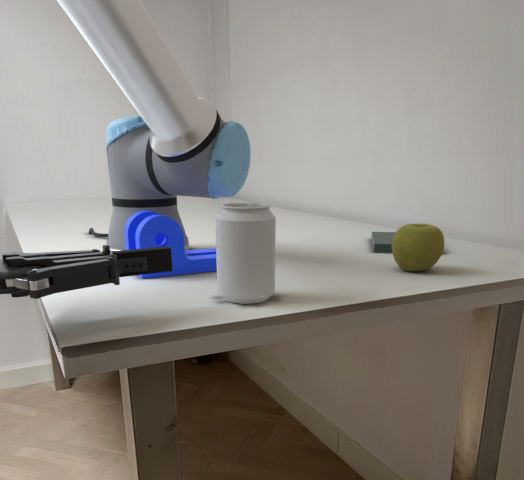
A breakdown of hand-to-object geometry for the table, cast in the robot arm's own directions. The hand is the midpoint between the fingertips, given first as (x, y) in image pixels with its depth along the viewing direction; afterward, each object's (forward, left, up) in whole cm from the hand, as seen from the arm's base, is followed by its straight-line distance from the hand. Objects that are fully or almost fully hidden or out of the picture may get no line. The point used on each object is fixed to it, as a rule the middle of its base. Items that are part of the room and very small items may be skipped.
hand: (169, 258), depth 65 cm
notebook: (+12, +59, -6) cm, 61 cm away
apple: (+20, +37, -6) cm, 43 cm away
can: (+5, +9, -6) cm, 12 cm away
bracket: (-13, +21, -6) cm, 25 cm away
